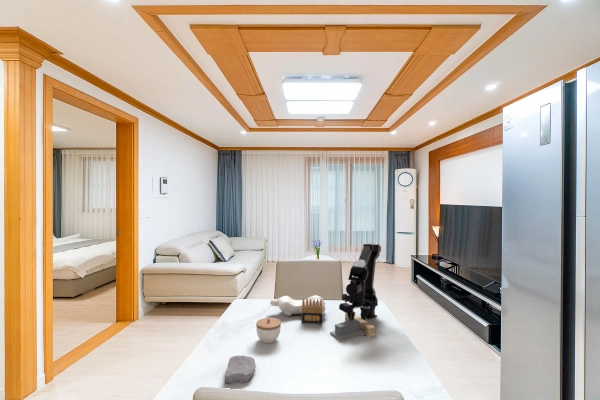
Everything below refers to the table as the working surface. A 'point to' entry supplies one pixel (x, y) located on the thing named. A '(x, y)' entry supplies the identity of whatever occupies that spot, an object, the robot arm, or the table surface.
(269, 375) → the table surface
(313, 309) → the ammunition clip
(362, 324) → the beam
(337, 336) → the grey stepped block
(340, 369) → the table surface
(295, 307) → the torso sculpture
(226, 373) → the stone block
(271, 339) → the lidded jar
